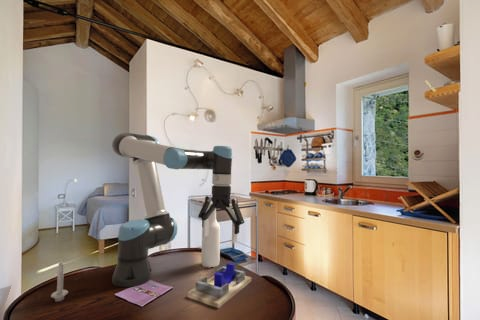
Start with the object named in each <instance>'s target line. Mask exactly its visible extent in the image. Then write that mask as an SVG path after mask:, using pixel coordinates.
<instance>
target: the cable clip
mask: <svg viewBox="0 0 480 320" xmlns="http://www.w3.org/2000/svg"><path fill="white" fill-rule="evenodd" d="M225 267H226V270H224V271H222V273H217V272H216V273H215V272H214V275H213V276H214V286H217V287H222V286H223V285H225V284H226V283H228V284H230V283H231V282H232V281H233V280H234V276H235V269H236V264H235V263H231V262H227V263H226V266H225Z"/></svg>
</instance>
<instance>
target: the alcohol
mask: <svg viewBox="0 0 480 320" xmlns="http://www.w3.org/2000/svg"><path fill="white" fill-rule="evenodd" d="M212 203H213V202H212V201H211V202H210V204H209V207H208V209H209V208H210V206H211V205H212ZM208 209H207V210H208ZM208 220H209V236H206V237H203V228H202V227H201V228H202V229H201V256H200V257H201V260H200V261H201V263H200V264H201V265H202V266H203V267H205V268H207V267H208V268H209V269H210V268H211V267H213V268H216V267H218V266H219V264H220V262H221V261H220V257H221V254H220V253H221V225H220V224H219V222H218V221H217V209H216V208H215V210H214V211H213V212H212V213H211V215H210V216H209V217H208ZM211 269H212V268H211Z"/></svg>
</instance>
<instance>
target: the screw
mask: <svg viewBox="0 0 480 320" xmlns="http://www.w3.org/2000/svg"><path fill="white" fill-rule="evenodd" d="M64 271H65V270H64V262H62V261H60V262H59V263H58V270H57V272H56V273H57V275H56V276H57V280H56V281H57V282H56V283H57V284H56V291H54V292H52V293H51V295H50V297H51V298H53V299H54V301H55V302H56V303H57V302H62V301H63V300H64V299H65V296H66V295H68V294H69V291H68V290H67V289H64V274H65V272H64Z"/></svg>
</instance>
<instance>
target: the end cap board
mask: <svg viewBox="0 0 480 320" xmlns="http://www.w3.org/2000/svg"><path fill="white" fill-rule="evenodd" d="M224 270H226V266H225V265H224V266H223V265H222V266H221V267H219V268H217V269H216V270H215V272H214V274H215V273H216V272H217V273H222V271H224ZM252 279H253V278H252V276H247V275H246V271H243V270H241V269H240V270H239V269H236V268H235V276H234V280H233V281H232V282H231V283H230V284H228V283H226V284H225V285H223V286H222V287H217V286H214V275H213V276H212V277H210V278H209V279H208V276H204V277H201V279H199V280H197V281H195V286H194V288H192V289H191V290H189V291H187V292H186V297H187V298H189V299H191V300H194V301H197V302H200V303H203V304H205V305H208V306H211V307H214V308H215V309H216V308H217V309H220V308H221V307H222V306H223V305H224V304H226V303H228V301H230V300H231V299H232V298H233V297H234V296H235V295H237V294H238V293H239V292H240V291H241V290H242V289H244V288H245V287H246V286H248V284H249V283H251V282H252Z"/></svg>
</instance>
